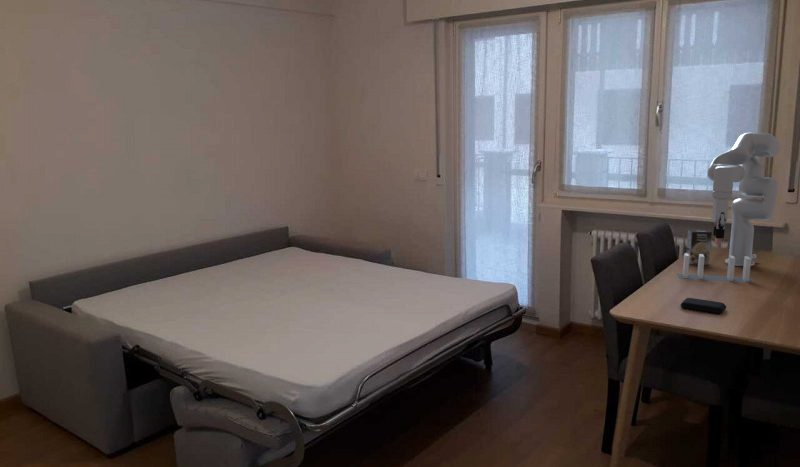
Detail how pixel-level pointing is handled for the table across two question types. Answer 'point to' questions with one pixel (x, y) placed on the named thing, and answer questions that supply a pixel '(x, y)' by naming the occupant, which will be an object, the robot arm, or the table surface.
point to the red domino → (717, 240)
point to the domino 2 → (700, 266)
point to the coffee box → (698, 245)
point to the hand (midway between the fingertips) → (718, 236)
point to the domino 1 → (685, 265)
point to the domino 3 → (731, 268)
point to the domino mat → (715, 278)
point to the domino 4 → (746, 268)
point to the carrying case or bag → (703, 306)
